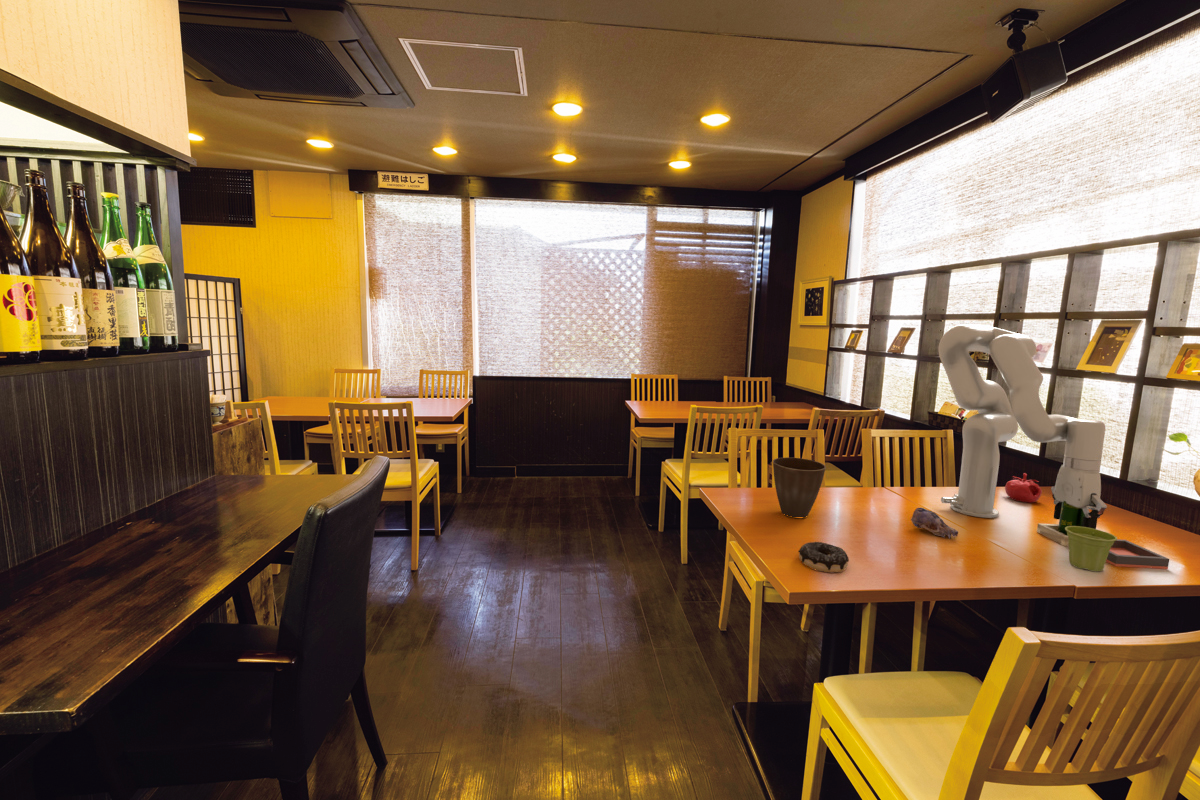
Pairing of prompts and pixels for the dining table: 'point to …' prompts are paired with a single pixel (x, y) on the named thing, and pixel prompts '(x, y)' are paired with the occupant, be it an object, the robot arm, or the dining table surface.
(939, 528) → the skull
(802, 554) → the donut
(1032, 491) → the pomegranate
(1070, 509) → the beer can
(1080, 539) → the plant pot
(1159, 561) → the lacquer tray
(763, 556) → the dining table surface
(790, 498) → the plant pot
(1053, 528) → the cedar frame
